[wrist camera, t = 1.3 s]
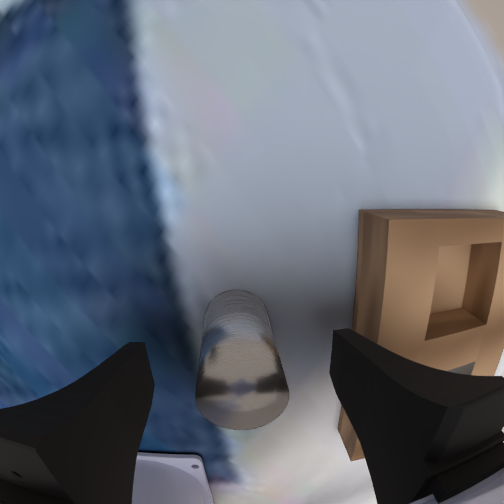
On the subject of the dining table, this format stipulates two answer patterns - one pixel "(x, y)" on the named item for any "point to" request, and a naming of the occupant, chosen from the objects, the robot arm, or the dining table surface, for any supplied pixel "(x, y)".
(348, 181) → the dining table surface
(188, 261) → the dining table surface
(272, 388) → the pin
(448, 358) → the block
